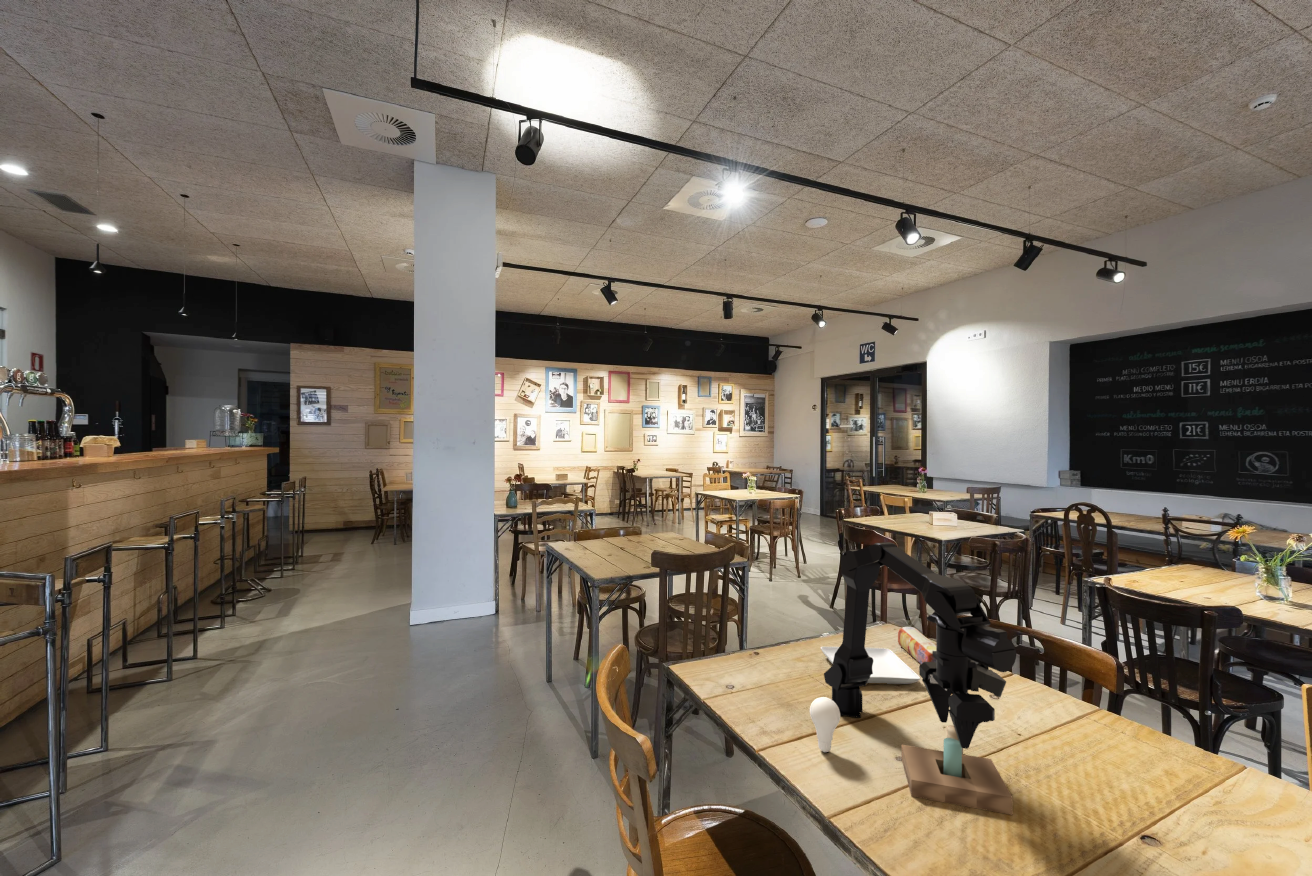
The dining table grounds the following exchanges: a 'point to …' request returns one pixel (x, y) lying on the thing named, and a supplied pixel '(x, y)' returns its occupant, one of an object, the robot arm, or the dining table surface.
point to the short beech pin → (952, 733)
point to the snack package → (916, 644)
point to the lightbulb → (824, 720)
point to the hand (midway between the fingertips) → (953, 734)
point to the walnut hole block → (956, 780)
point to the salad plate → (883, 666)
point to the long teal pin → (952, 757)
